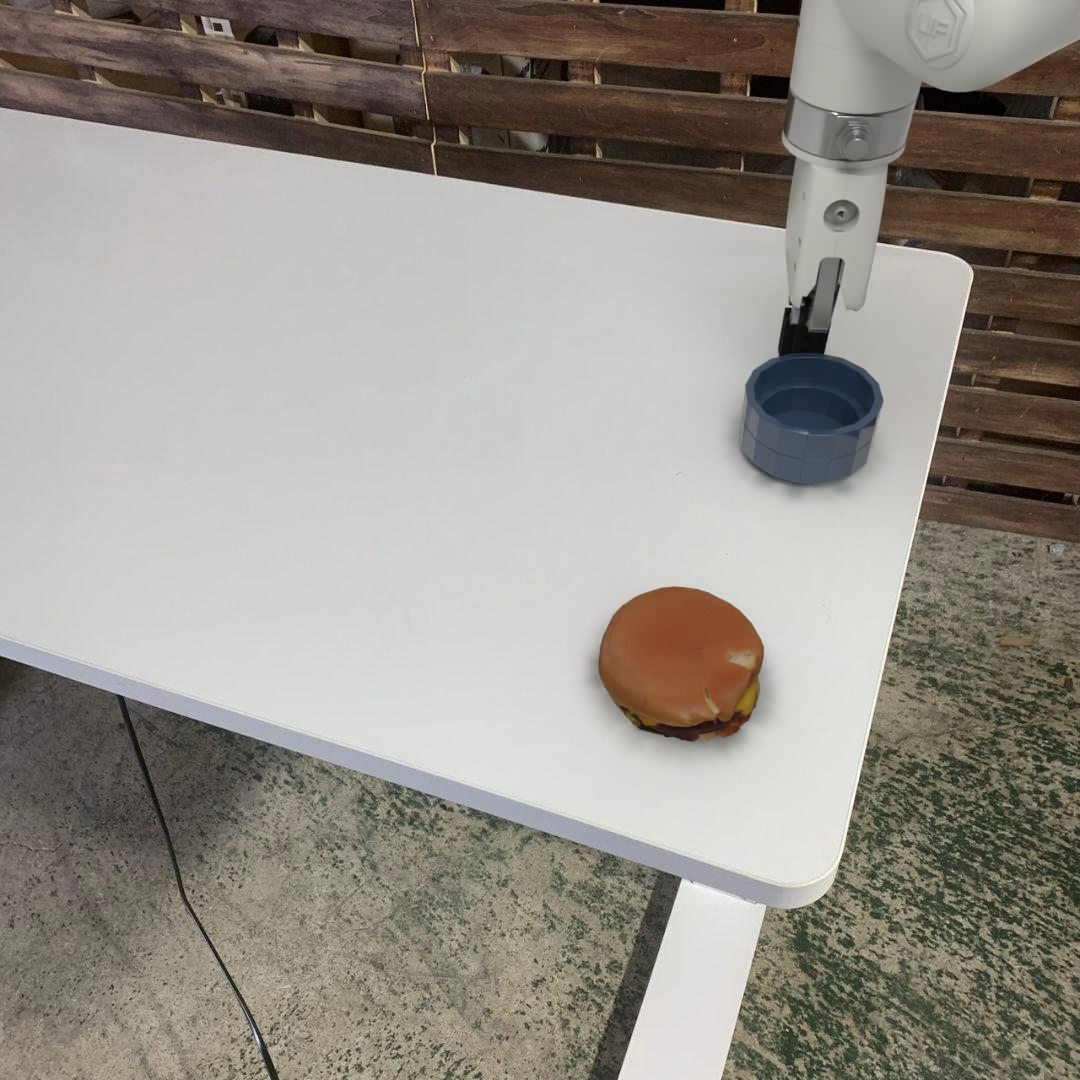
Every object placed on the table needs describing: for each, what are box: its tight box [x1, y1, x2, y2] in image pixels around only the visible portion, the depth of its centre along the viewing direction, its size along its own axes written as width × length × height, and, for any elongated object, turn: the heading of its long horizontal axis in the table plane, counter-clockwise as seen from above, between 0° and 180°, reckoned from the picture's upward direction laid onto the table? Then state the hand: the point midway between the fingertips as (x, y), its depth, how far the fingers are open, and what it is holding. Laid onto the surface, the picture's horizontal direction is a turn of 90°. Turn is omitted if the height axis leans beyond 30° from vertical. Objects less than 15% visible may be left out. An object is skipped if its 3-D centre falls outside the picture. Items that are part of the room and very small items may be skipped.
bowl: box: [739, 353, 884, 485], centre depth 69 cm, size 9×9×5 cm
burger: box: [597, 585, 765, 743], centre depth 56 cm, size 10×9×5 cm
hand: (799, 358), depth 73 cm, fingers closed
